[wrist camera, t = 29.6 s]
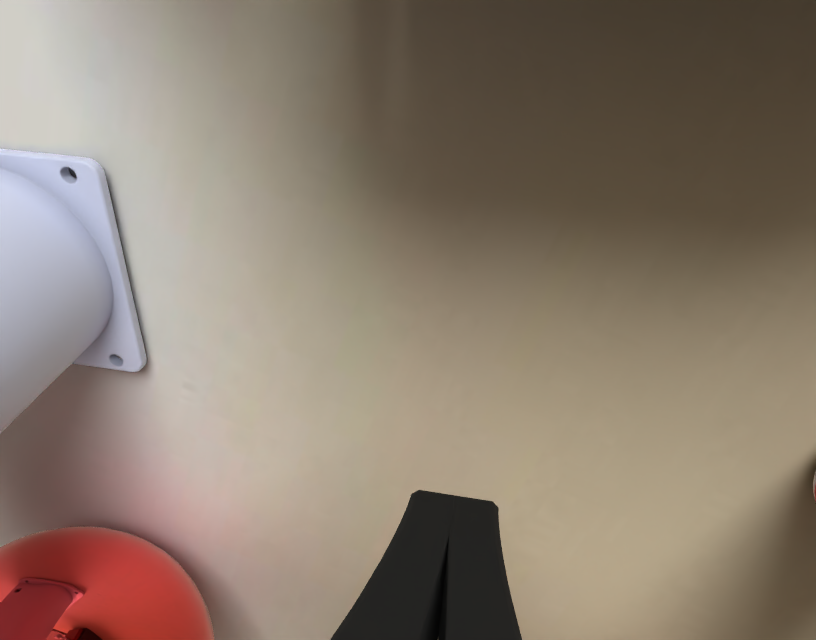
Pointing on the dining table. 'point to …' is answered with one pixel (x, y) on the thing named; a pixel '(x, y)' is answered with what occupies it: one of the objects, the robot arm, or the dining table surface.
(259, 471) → the dining table surface
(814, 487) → the pill bottle
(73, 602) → the ball
